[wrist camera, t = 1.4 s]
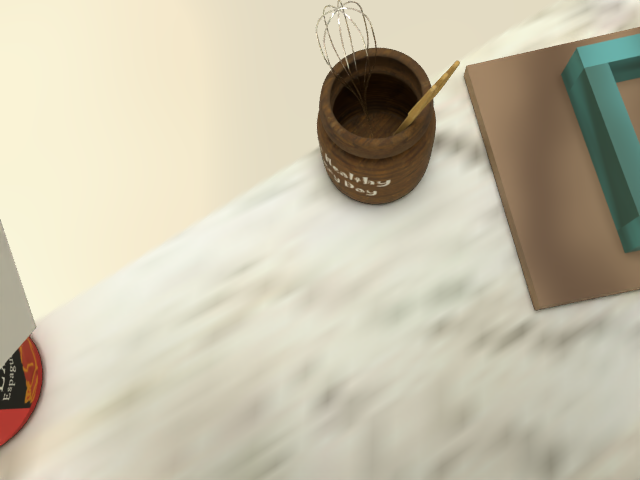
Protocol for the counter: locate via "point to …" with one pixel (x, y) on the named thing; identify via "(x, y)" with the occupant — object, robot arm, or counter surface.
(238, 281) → the counter surface
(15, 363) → the canned food
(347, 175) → the utensil holder
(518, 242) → the cradle jig
